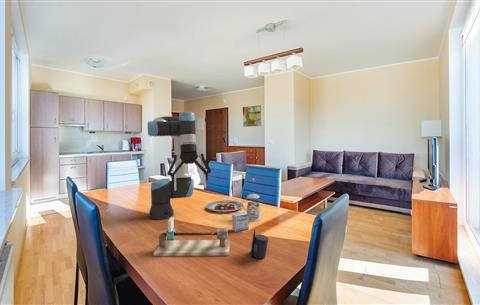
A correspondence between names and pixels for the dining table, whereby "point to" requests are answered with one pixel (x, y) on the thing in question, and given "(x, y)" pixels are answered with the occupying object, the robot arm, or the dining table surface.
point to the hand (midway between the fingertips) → (190, 189)
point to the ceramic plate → (224, 206)
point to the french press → (251, 215)
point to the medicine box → (240, 222)
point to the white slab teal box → (171, 230)
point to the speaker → (259, 246)
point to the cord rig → (194, 245)
